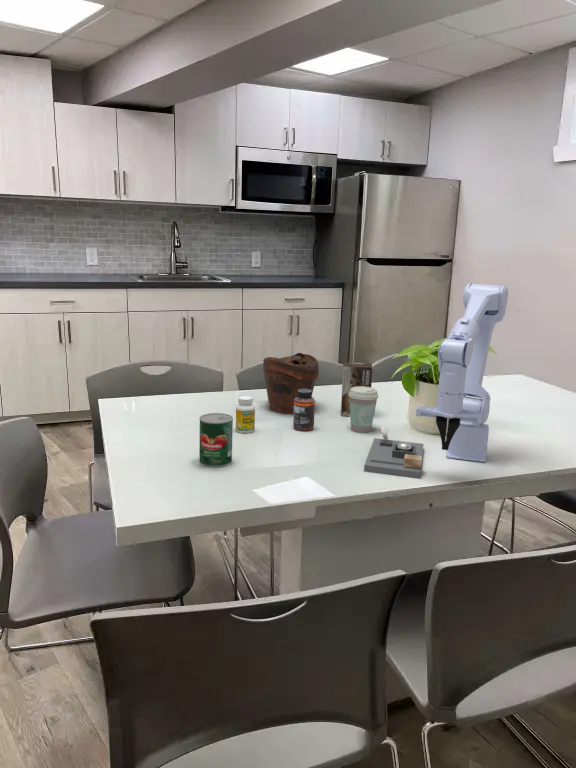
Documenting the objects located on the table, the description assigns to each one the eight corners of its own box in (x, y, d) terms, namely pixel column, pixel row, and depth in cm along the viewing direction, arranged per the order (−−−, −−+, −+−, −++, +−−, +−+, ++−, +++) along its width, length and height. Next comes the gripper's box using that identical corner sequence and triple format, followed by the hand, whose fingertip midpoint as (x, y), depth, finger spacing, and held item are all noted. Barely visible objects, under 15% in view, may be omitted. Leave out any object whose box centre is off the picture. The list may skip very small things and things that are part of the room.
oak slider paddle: (421, 463, 141) (422, 455, 141) (420, 468, 138) (421, 460, 138) (404, 461, 142) (405, 453, 142) (403, 466, 139) (404, 458, 139)
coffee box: (369, 412, 189) (372, 362, 186) (369, 418, 183) (373, 367, 179) (340, 410, 190) (343, 361, 186) (340, 416, 184) (343, 365, 180)
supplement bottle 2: (309, 424, 174) (311, 387, 172) (316, 430, 169) (318, 392, 166) (290, 425, 172) (291, 388, 170) (297, 432, 167) (298, 393, 164)
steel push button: (411, 448, 149) (412, 442, 148) (411, 453, 145) (411, 447, 145) (397, 446, 150) (397, 440, 149) (396, 451, 146) (396, 445, 146)
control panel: (423, 449, 157) (424, 437, 156) (419, 478, 137) (421, 465, 136) (374, 443, 160) (374, 432, 159) (363, 471, 140) (364, 458, 139)
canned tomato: (201, 468, 138) (201, 423, 135) (197, 456, 145) (197, 413, 143) (235, 466, 140) (236, 421, 138) (228, 454, 148) (229, 412, 145)
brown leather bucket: (317, 400, 200) (318, 348, 196) (318, 418, 181) (320, 360, 177) (264, 399, 201) (264, 347, 196) (260, 416, 181) (260, 359, 177)
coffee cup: (352, 434, 166) (355, 393, 164) (342, 425, 174) (344, 386, 172) (380, 433, 169) (383, 392, 166) (368, 424, 177) (371, 385, 174)
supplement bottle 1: (248, 426, 170) (249, 394, 168) (258, 431, 166) (259, 398, 164) (232, 429, 167) (232, 396, 165) (241, 434, 163) (241, 401, 161)
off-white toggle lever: (388, 439, 155) (385, 426, 155) (388, 440, 154) (384, 427, 154) (384, 440, 155) (380, 427, 155) (383, 441, 154) (380, 428, 154)
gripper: (417, 392, 132) (412, 450, 135) (485, 399, 129) (478, 458, 132) (419, 385, 139) (413, 440, 142) (483, 391, 136) (476, 448, 139)
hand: (444, 448), depth 138 cm, fingers closed
